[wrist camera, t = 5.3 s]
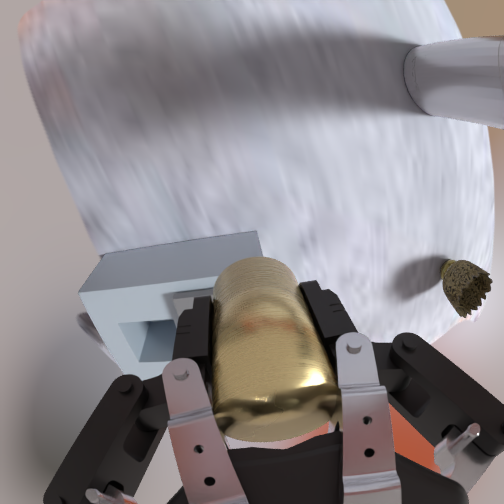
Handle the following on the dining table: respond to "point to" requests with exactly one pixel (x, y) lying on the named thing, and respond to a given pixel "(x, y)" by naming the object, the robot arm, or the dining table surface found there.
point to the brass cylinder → (267, 355)
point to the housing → (154, 295)
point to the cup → (464, 285)
